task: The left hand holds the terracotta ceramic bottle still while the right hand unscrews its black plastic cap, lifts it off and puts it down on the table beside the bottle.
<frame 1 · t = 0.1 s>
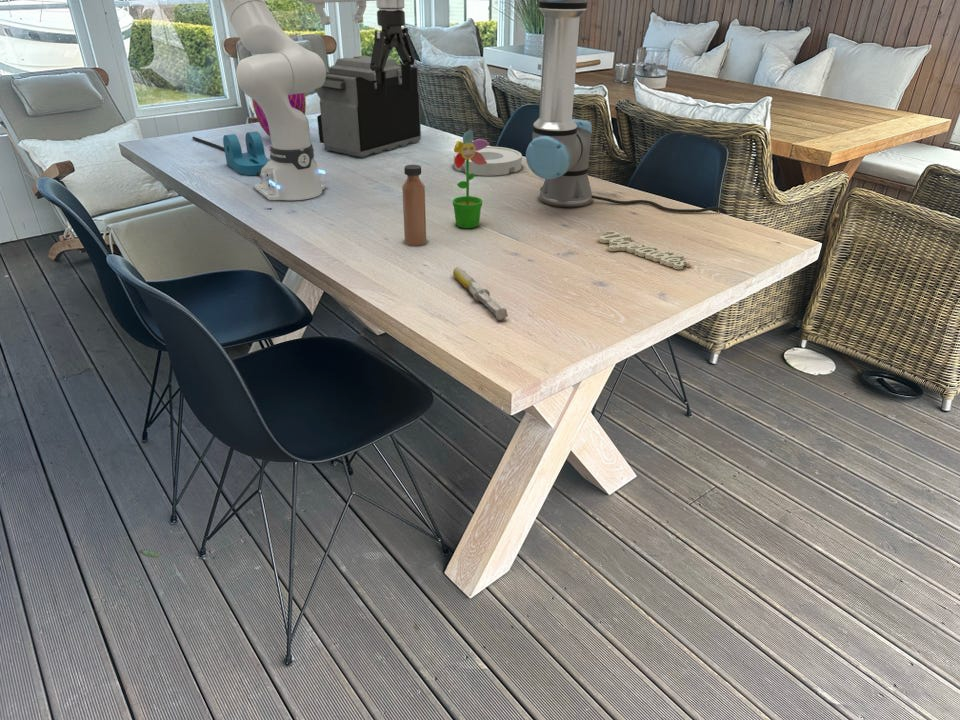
left hand: (342, 23, 163), 48 cm above the table, tool pointing down, fingers open, 8 cm apart
right hand: (394, 92, 197), 28 cm above the table, tool pointing down, fingers open, 13 cm apart
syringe: (478, 297, 145), on the table
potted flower: (468, 225, 184), on the table
ashtray: (487, 166, 235), on the table
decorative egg: (284, 140, 265), on the table
cap: (412, 168, 163), point 19 cm above the table, screwed on, not yet turned
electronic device: (371, 146, 258), on the table
camera mount: (251, 168, 229), on the table
bottle: (415, 242, 172), on the table
decorative sign: (639, 252, 168), on the table
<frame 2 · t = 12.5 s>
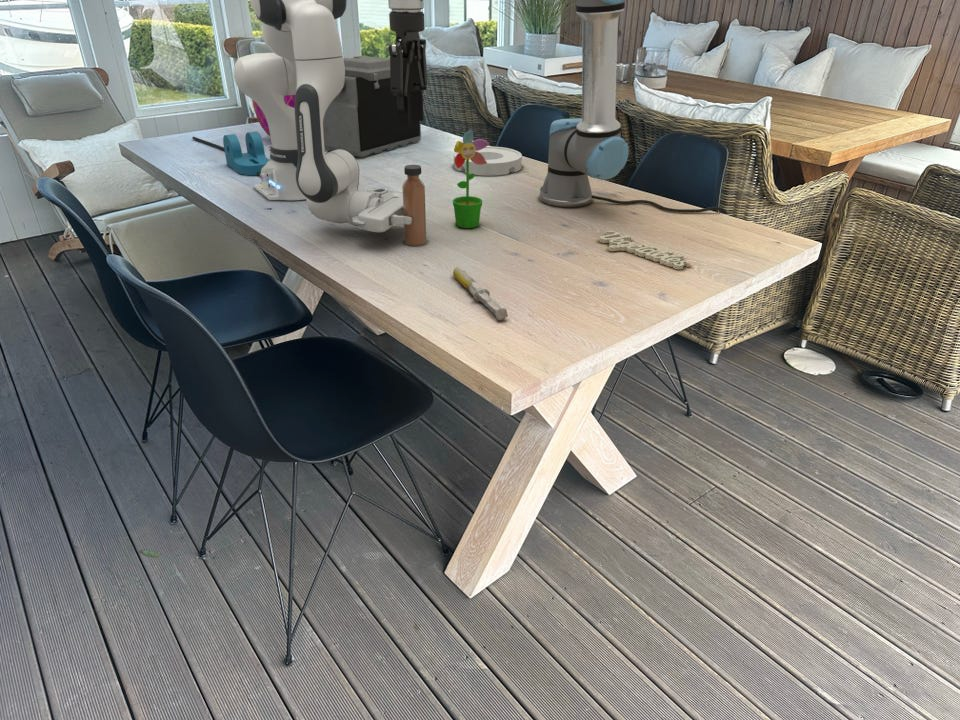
left hand: (418, 216, 169), 7 cm above the table, tool horizontal, fingers closed on bottle, 5 cm apart
right hand: (411, 122, 158), 29 cm above the table, tool pointing down, fingers open, 6 cm apart
bottle: (415, 242, 172), on the table, touching left hand
everything else where it was.
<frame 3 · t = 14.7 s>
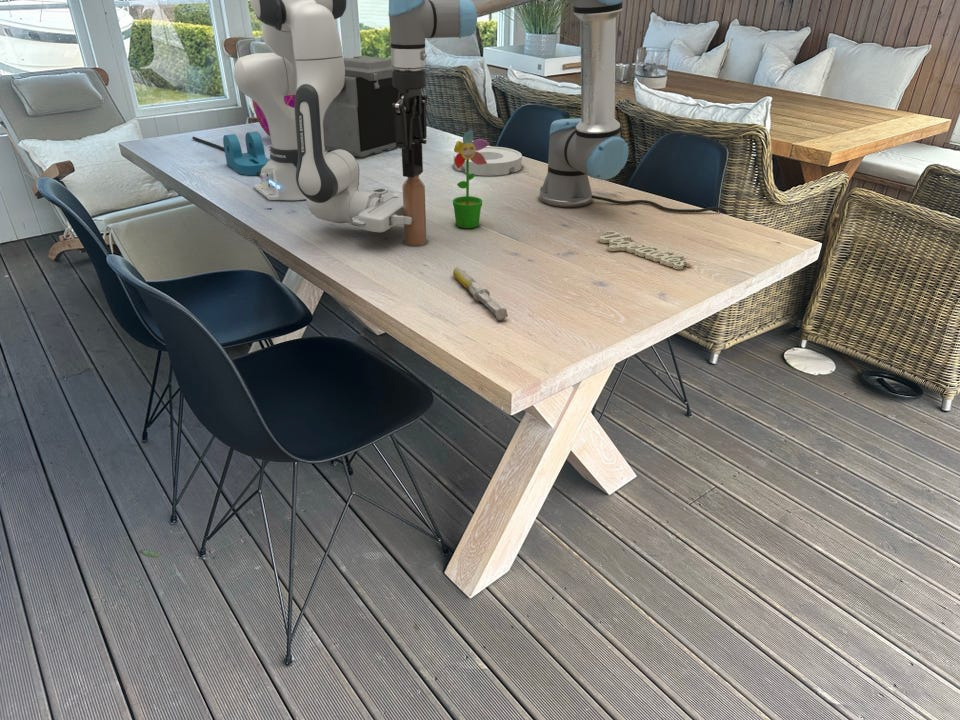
left hand: (418, 216, 169), 7 cm above the table, tool horizontal, fingers closed on bottle, 5 cm apart
right hand: (413, 173, 164), 17 cm above the table, tool pointing down, fingers closed on cap, 4 cm apart
cap: (412, 168, 163), point 19 cm above the table, screwed on, not yet turned, touching right hand
bottle: (415, 242, 172), on the table, touching left hand
everything else where it was.
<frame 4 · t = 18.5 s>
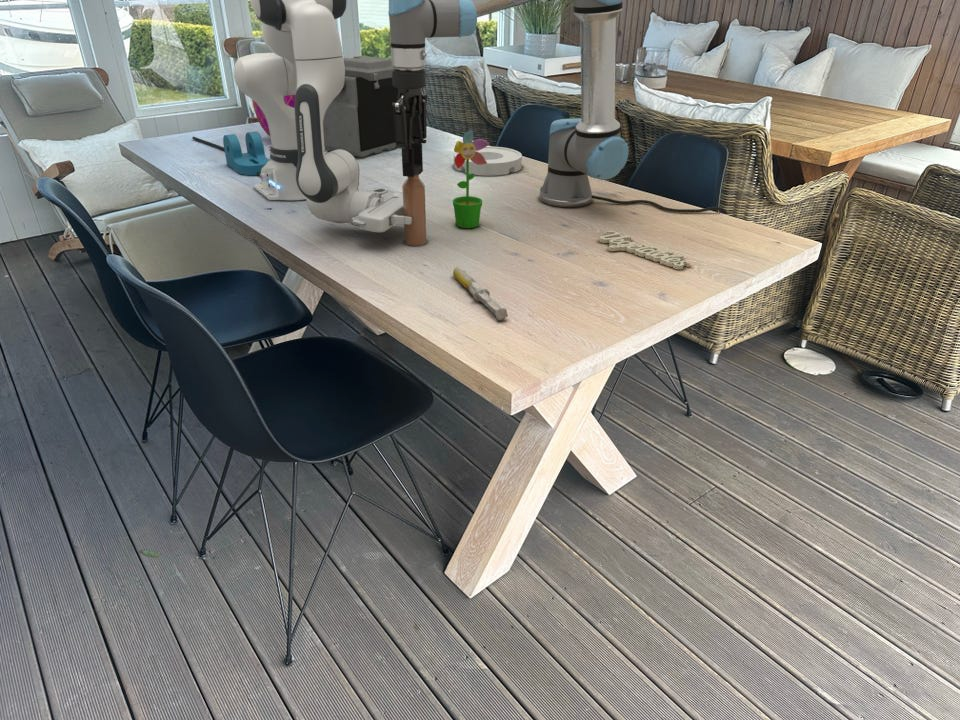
left hand: (418, 216, 169), 7 cm above the table, tool horizontal, fingers closed on bottle, 5 cm apart
right hand: (412, 173, 164), 17 cm above the table, tool pointing down, fingers closed on cap, 4 cm apart
cap: (412, 167, 163), point 19 cm above the table, turned 120° so far, risen 0.1 cm, still on its thread, touching right hand
bottle: (415, 242, 172), on the table, touching left hand
everything else where it was.
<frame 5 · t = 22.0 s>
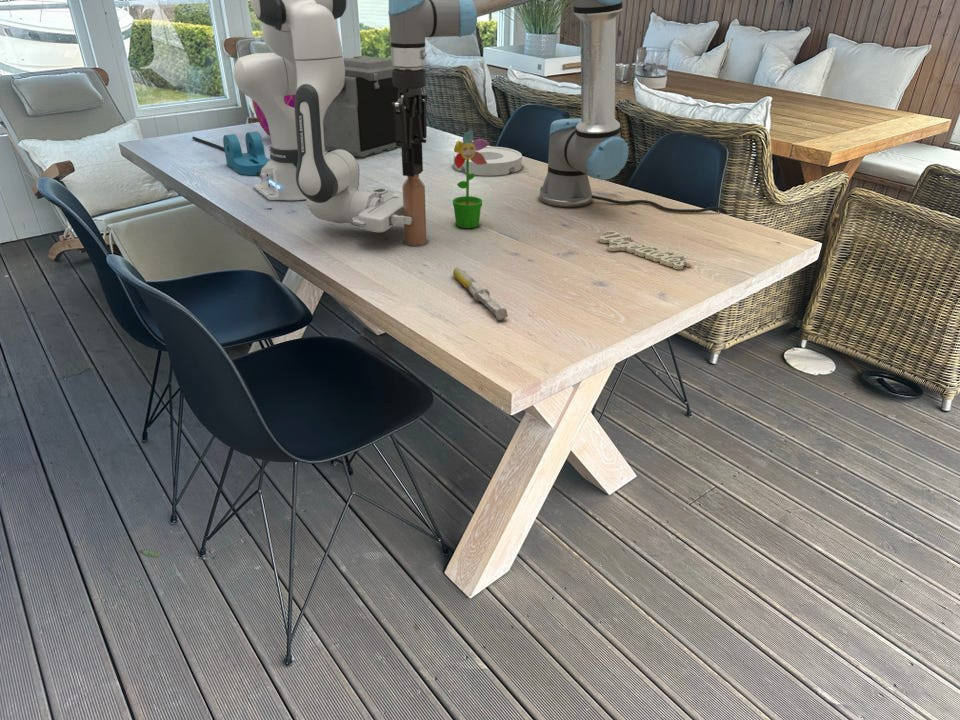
left hand: (418, 216, 169), 7 cm above the table, tool horizontal, fingers closed on bottle, 5 cm apart
right hand: (412, 173, 164), 17 cm above the table, tool pointing down, fingers closed on cap, 4 cm apart
cap: (412, 167, 163), point 19 cm above the table, turned 240° so far, risen 0.2 cm, still on its thread, touching right hand
bottle: (415, 242, 172), on the table, touching left hand
everything else where it was.
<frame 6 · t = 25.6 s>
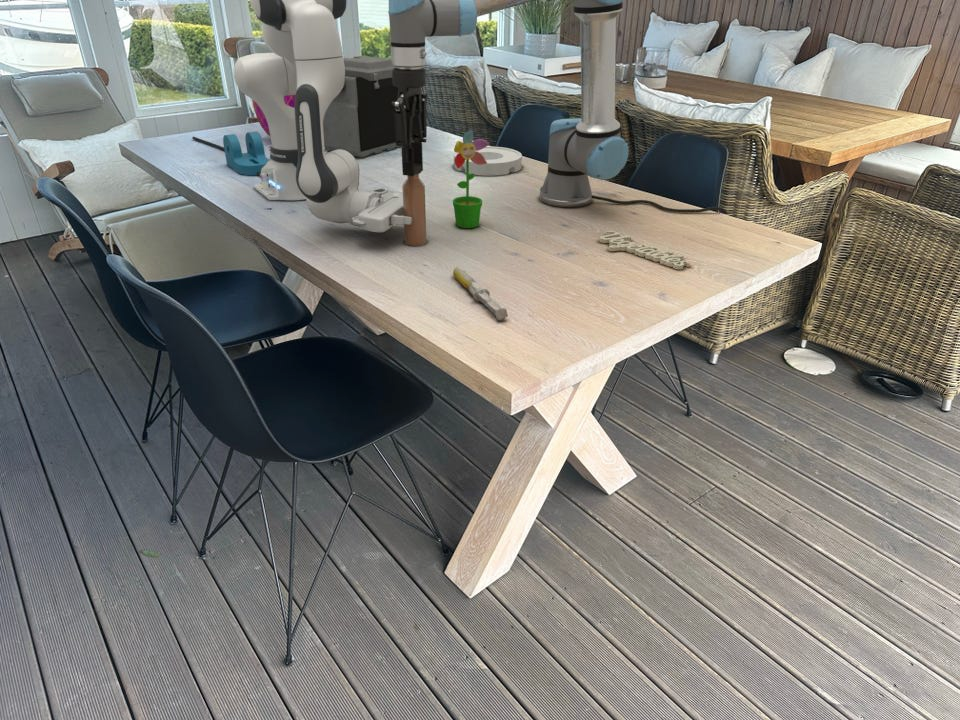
left hand: (418, 216, 169), 7 cm above the table, tool horizontal, fingers closed on bottle, 5 cm apart
right hand: (412, 172, 164), 17 cm above the table, tool pointing down, fingers closed on cap, 4 cm apart
cap: (412, 166, 163), point 19 cm above the table, turned 359° so far, risen 0.3 cm, still on its thread, touching right hand
bottle: (415, 242, 172), on the table, touching left hand
everything else where it was.
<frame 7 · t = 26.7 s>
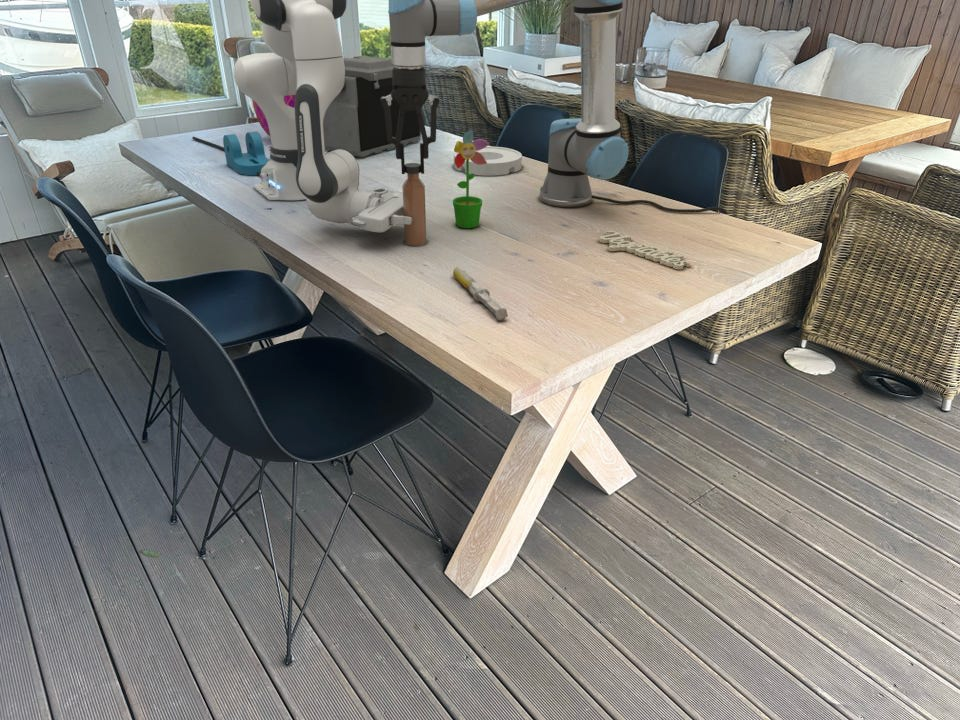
left hand: (418, 216, 169), 7 cm above the table, tool horizontal, fingers closed on bottle, 5 cm apart
right hand: (412, 172, 164), 18 cm above the table, tool pointing down, fingers closed on cap, 4 cm apart
cap: (412, 166, 163), point 19 cm above the table, off its thread, touching right hand
bottle: (415, 242, 172), on the table, touching left hand
everything else where it was.
when the right hand's fingers open (1 cm above the table, at t = 32.3 s): cap drops 1 cm, point 1 cm above the table.
when the left hand's fingers open (7 cm above the table, at t = 33.7 s): bottle stays where it is, on the table.
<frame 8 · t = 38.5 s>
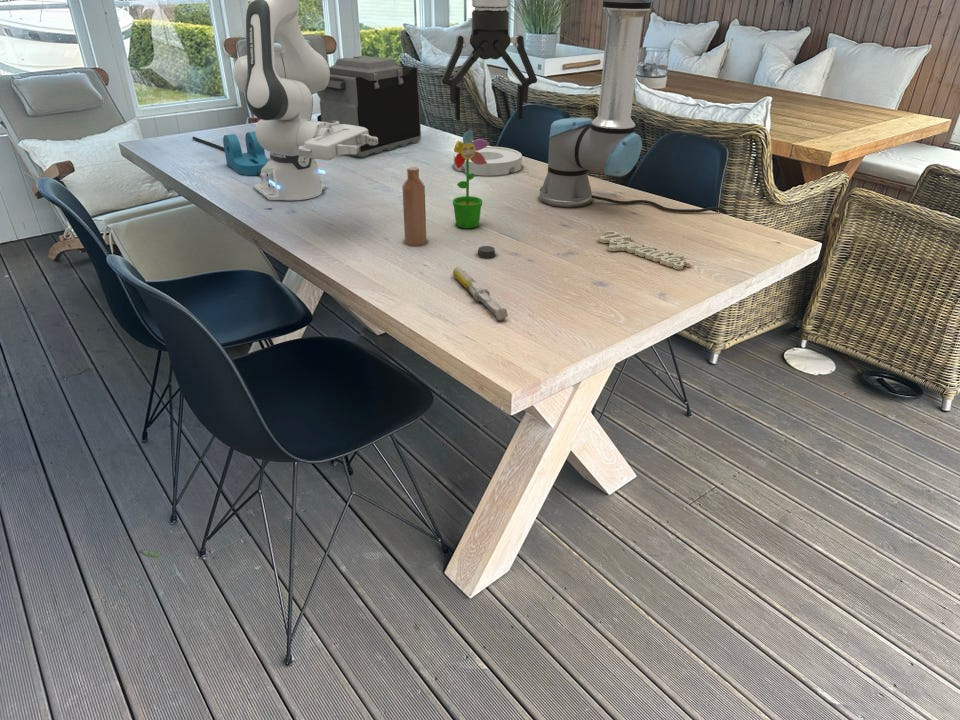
left hand: (367, 145, 164), 23 cm above the table, tool horizontal, fingers open, 8 cm apart
right hand: (488, 118, 149), 32 cm above the table, tool pointing down, fingers open, 13 cm apart
cap: (486, 250, 165), point 1 cm above the table, off its thread
bottle: (415, 242, 172), on the table
everything else where it was.
at the end: cap came off its thread; cap point 1.3 cm above the table; the left hand is holding nothing; the right hand is holding nothing; bottle tilted 0°; bottle moved 0.0 cm from its start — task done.
